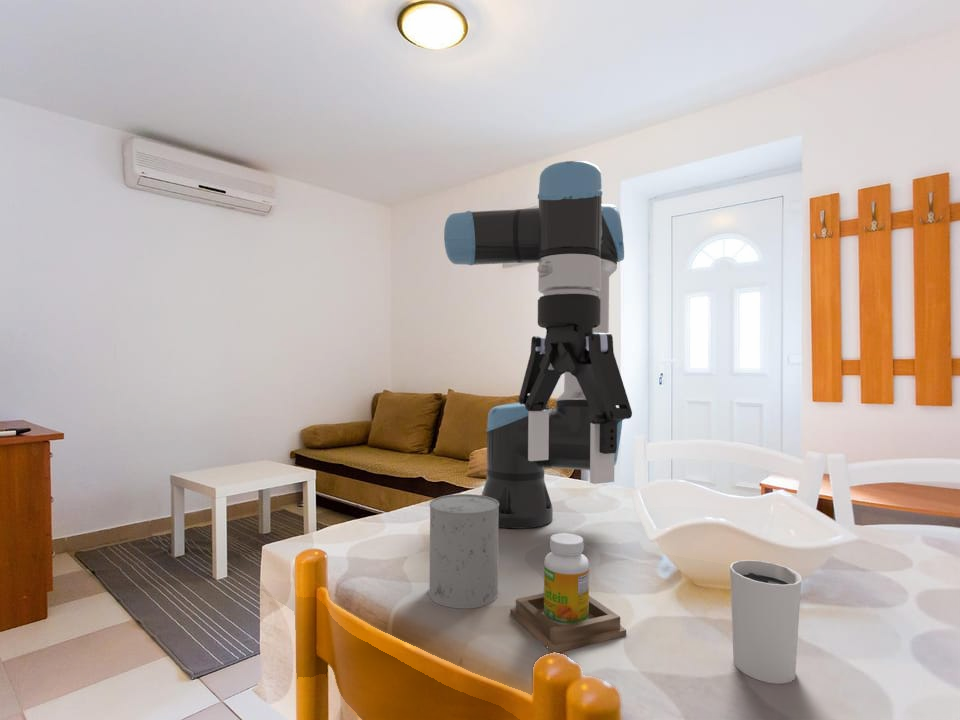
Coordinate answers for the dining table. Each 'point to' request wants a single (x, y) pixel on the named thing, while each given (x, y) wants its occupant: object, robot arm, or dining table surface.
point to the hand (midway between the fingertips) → (567, 470)
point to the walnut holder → (567, 625)
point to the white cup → (765, 619)
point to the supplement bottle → (566, 580)
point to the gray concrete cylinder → (463, 550)
